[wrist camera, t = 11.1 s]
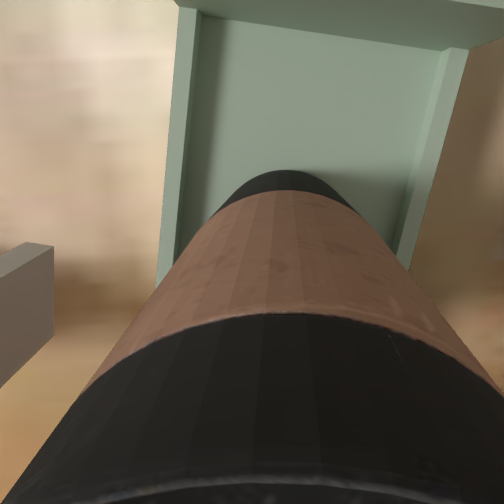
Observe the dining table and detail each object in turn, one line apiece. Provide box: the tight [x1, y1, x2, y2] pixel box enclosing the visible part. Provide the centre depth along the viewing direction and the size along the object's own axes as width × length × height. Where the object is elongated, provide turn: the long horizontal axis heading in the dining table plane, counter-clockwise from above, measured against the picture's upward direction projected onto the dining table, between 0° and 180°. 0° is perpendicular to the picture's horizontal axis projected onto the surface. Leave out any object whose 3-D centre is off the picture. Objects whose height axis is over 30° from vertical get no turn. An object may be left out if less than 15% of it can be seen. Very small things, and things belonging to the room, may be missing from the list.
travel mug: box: [1, 170, 504, 504], centre depth 13 cm, size 8×8×20 cm
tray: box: [155, 0, 504, 290], centre depth 19 cm, size 18×13×9 cm
